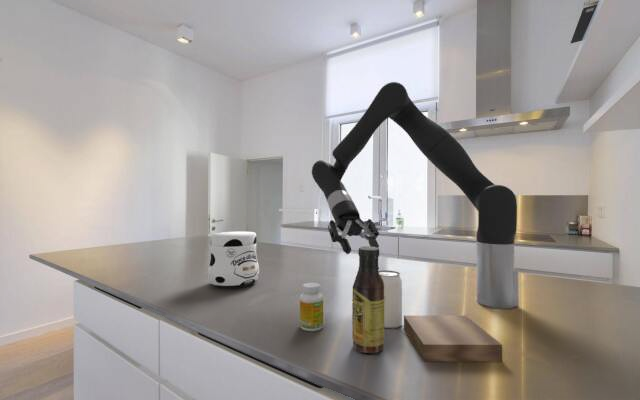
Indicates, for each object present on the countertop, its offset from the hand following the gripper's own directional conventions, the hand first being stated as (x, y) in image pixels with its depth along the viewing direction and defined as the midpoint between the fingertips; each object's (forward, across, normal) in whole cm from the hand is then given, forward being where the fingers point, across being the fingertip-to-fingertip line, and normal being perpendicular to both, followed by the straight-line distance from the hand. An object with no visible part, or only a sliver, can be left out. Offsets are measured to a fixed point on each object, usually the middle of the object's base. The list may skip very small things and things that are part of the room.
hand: (363, 251), depth 82 cm
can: (+19, 0, +3) cm, 19 cm away
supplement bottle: (+15, -17, +8) cm, 24 cm away
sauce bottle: (+25, -11, -2) cm, 27 cm away
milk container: (-17, -28, +39) cm, 51 cm away
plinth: (+28, +5, -6) cm, 29 cm away
